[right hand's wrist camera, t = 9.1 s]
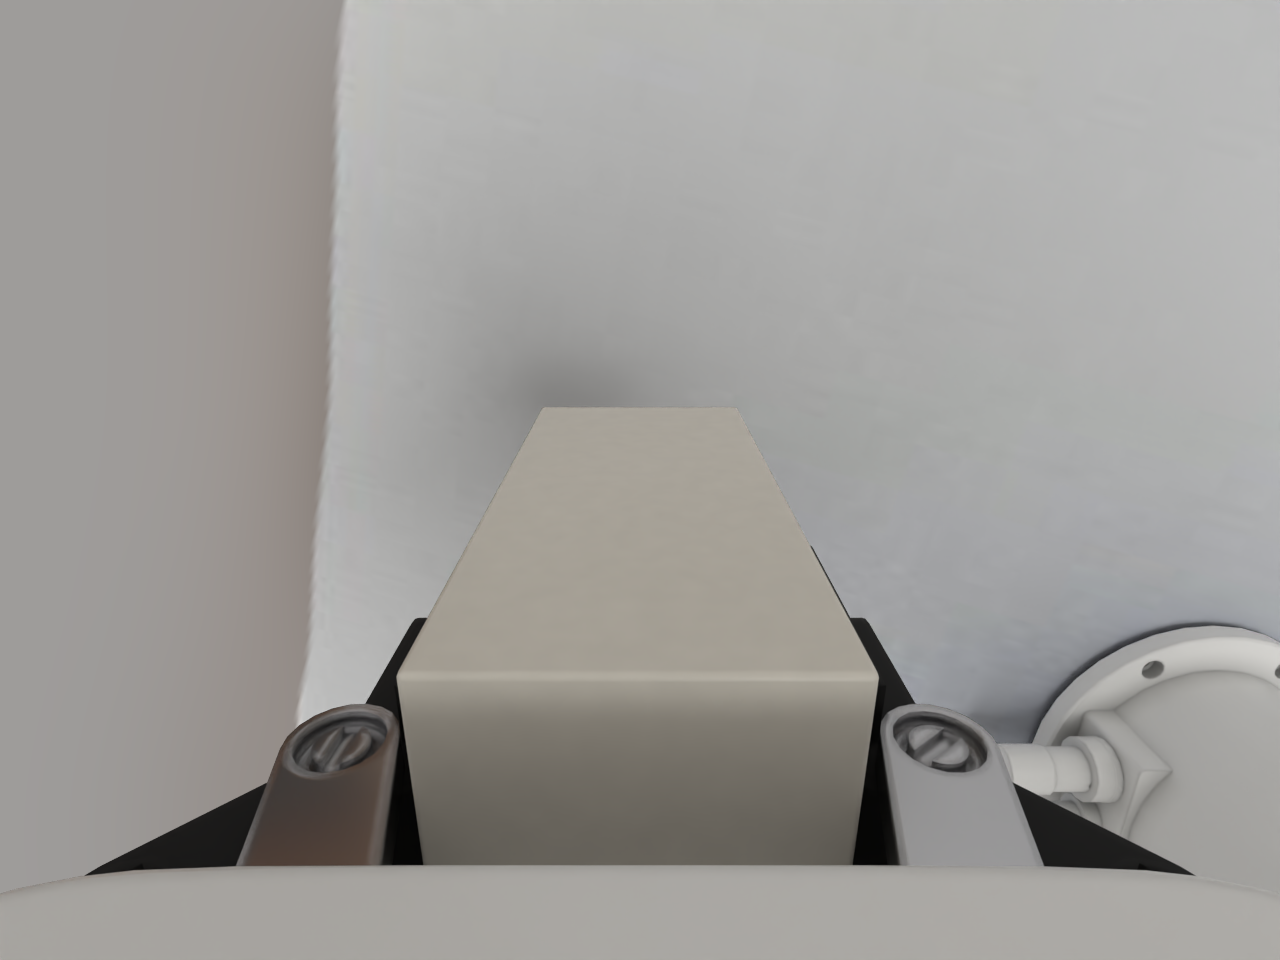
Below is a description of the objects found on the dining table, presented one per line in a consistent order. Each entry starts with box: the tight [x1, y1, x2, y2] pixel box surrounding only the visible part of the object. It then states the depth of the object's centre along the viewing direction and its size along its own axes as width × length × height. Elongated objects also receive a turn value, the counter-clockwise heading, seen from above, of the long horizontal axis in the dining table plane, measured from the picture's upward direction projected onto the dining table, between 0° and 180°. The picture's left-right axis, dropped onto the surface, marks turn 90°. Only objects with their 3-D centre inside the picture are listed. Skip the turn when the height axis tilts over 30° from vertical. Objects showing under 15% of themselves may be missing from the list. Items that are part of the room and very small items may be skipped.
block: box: [397, 407, 879, 865], centre depth 12 cm, size 4×6×10 cm
